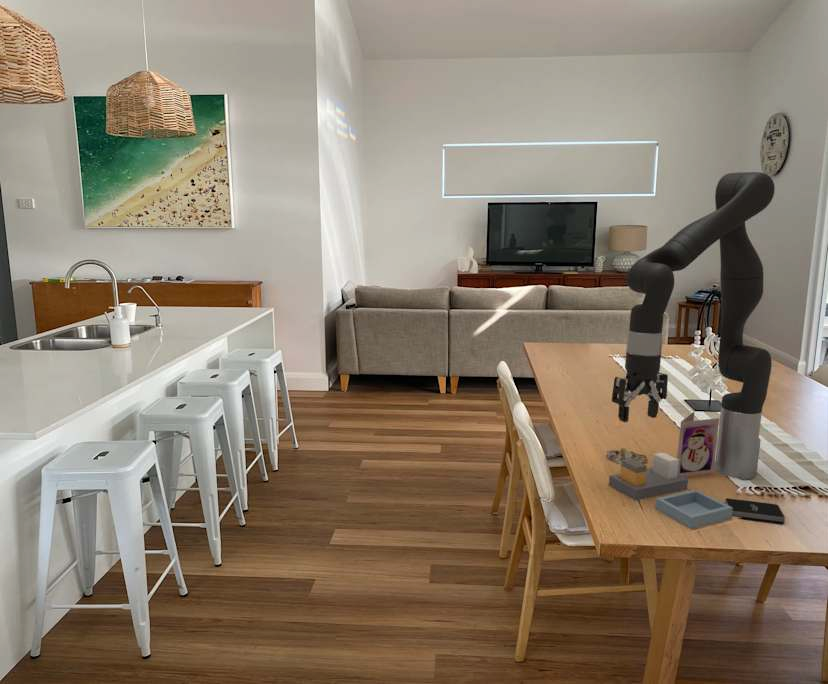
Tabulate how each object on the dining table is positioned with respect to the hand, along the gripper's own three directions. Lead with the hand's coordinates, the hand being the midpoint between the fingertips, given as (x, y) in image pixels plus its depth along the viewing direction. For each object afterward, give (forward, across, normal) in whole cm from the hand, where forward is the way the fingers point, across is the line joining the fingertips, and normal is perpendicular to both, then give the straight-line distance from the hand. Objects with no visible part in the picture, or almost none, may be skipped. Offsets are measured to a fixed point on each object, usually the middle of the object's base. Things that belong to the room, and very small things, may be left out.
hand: (637, 419), depth 149 cm
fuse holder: (+18, -5, 0) cm, 19 cm away
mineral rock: (+19, -13, -16) cm, 28 cm away
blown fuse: (+18, 0, 0) cm, 18 cm away
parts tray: (+18, -4, +14) cm, 24 cm away
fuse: (+18, -10, 0) cm, 20 cm away
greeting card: (+18, -22, -4) cm, 29 cm away
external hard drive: (+19, -17, +19) cm, 32 cm away
